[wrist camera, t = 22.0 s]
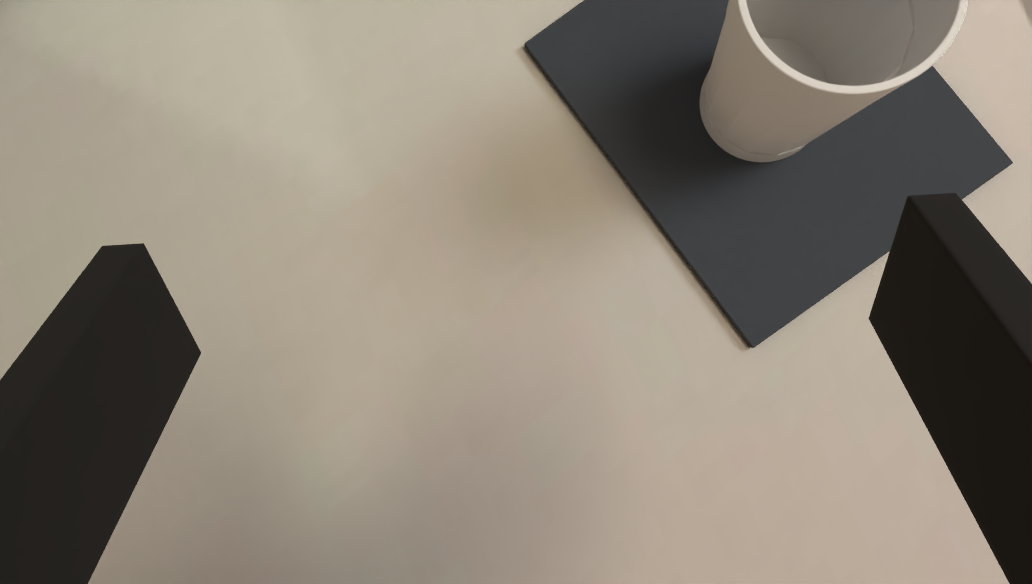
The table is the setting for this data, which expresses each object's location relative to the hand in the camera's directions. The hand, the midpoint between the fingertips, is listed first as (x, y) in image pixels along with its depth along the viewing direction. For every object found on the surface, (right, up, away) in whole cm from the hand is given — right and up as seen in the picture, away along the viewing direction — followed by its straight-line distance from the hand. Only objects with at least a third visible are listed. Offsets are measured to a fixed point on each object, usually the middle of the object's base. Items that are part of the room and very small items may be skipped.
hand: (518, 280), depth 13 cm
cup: (+13, +10, +24) cm, 29 cm away
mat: (+13, +10, +25) cm, 29 cm away
